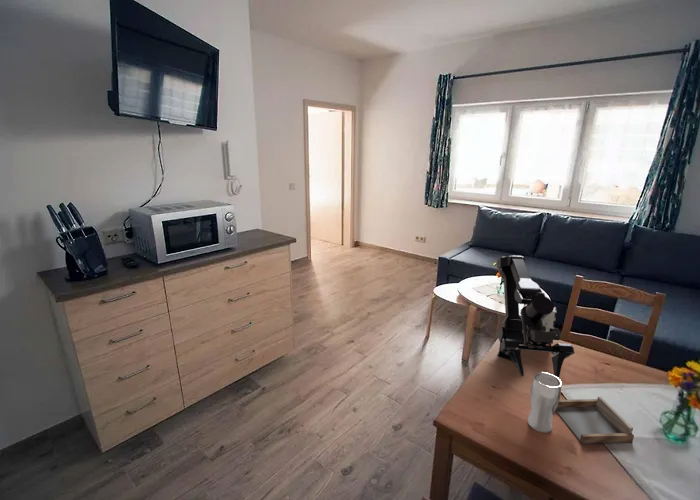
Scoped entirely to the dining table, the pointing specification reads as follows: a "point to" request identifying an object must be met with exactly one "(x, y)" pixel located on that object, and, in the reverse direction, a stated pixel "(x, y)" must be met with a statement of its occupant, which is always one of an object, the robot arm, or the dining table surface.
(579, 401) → the wooden tray
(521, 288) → the robot arm
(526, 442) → the dining table surface
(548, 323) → the candy bar box
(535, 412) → the silver metal cup
